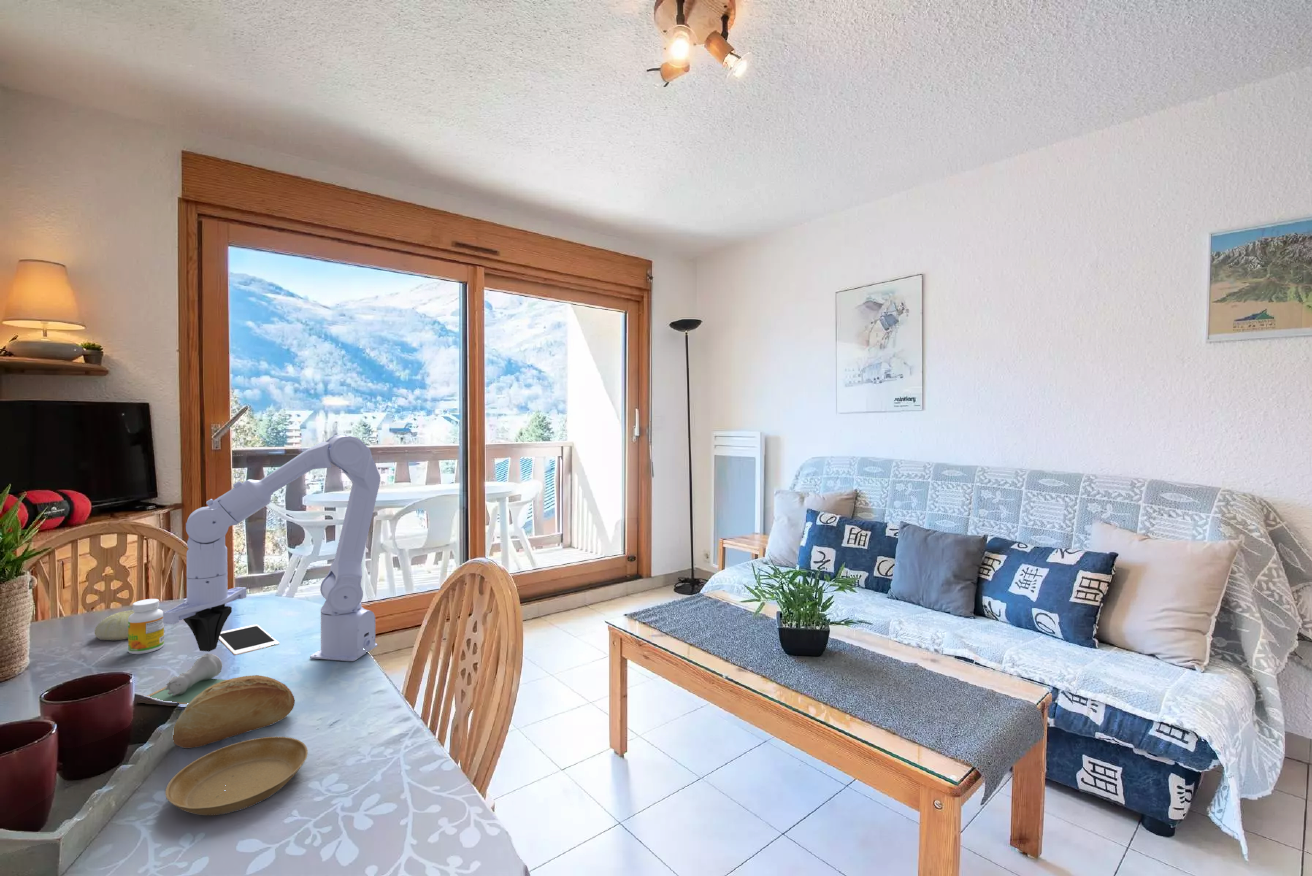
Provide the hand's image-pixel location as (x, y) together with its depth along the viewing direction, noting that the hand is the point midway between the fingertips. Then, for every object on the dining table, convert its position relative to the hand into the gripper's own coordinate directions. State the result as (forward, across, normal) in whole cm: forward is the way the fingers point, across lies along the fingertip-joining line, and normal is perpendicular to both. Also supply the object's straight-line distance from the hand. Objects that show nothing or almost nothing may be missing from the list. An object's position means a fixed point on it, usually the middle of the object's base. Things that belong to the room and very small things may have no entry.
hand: (207, 649), depth 101 cm
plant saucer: (+6, +25, +30) cm, 40 cm away
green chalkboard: (+6, +4, +2) cm, 7 cm away
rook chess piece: (+3, -1, 0) cm, 3 cm away
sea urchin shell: (+6, -16, -36) cm, 40 cm away
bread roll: (+6, +14, +19) cm, 24 cm away
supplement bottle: (+6, -10, -24) cm, 27 cm away
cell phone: (+6, -18, -9) cm, 21 cm away
